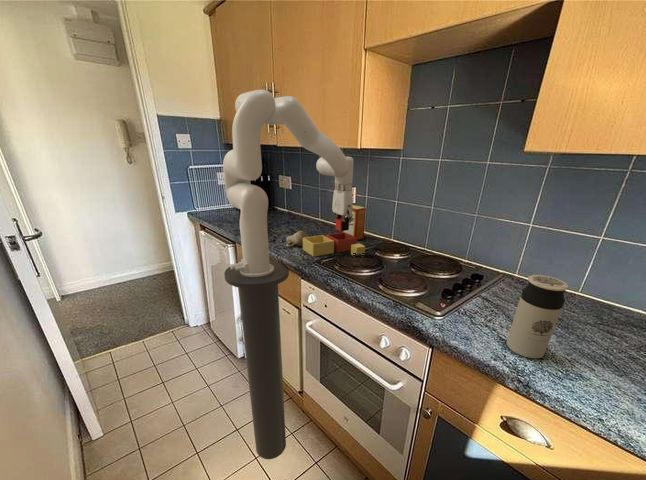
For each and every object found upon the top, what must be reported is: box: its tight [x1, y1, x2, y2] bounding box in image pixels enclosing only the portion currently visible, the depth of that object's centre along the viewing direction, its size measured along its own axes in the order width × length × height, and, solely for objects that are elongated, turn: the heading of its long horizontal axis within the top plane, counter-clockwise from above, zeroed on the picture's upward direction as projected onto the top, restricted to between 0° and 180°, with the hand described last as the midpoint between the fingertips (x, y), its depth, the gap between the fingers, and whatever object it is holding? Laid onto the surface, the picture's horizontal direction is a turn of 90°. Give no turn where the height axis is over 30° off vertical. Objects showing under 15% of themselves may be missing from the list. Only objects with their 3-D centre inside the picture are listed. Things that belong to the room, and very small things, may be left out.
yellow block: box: [350, 243, 366, 256], centre depth 130 cm, size 4×4×4 cm
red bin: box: [325, 231, 358, 253], centre depth 138 cm, size 10×10×6 cm
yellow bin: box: [302, 234, 335, 257], centre depth 132 cm, size 10×10×6 cm
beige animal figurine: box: [285, 230, 309, 248], centre depth 139 cm, size 8×10×10 cm
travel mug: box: [505, 274, 569, 359], centre depth 69 cm, size 8×8×18 cm
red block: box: [335, 218, 349, 232], centre depth 135 cm, size 4×4×4 cm
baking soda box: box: [341, 204, 367, 241], centre depth 151 cm, size 10×6×16 cm
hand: (342, 228), depth 136 cm, fingers closed on red block, 4 cm apart
